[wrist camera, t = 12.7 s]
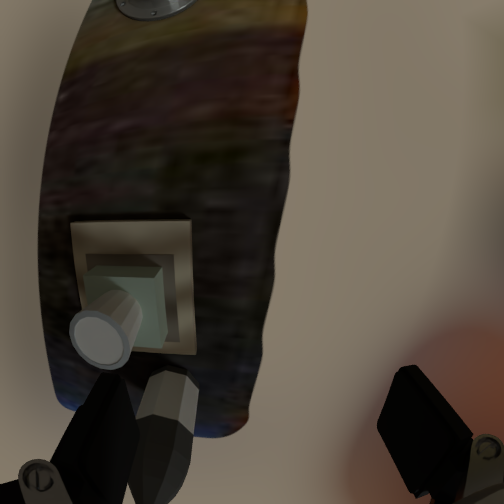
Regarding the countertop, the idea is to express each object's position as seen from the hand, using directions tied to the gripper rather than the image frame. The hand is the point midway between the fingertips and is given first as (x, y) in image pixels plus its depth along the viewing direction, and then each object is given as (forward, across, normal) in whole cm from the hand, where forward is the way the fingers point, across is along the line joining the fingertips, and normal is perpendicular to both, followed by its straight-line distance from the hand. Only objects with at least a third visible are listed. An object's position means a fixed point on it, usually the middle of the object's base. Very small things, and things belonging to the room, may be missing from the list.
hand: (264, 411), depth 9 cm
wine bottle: (+28, +10, +23) cm, 38 cm away
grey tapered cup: (+23, +14, +8) cm, 28 cm away
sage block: (+27, +14, +8) cm, 31 cm away
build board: (+28, +14, +7) cm, 32 cm away
